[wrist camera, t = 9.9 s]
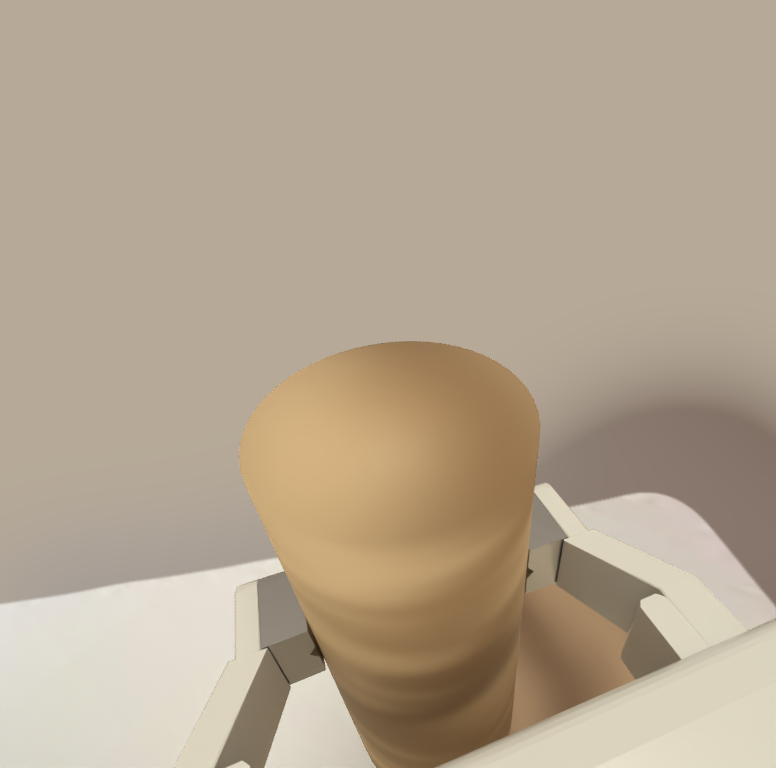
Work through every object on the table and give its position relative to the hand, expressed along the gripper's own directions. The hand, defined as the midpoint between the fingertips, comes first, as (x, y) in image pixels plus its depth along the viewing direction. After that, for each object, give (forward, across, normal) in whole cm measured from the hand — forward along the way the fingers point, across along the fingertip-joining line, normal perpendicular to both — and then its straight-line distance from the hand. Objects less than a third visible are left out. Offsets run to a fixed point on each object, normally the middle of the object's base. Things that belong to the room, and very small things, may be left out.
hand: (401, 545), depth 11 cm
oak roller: (-1, 0, +7) cm, 7 cm away
